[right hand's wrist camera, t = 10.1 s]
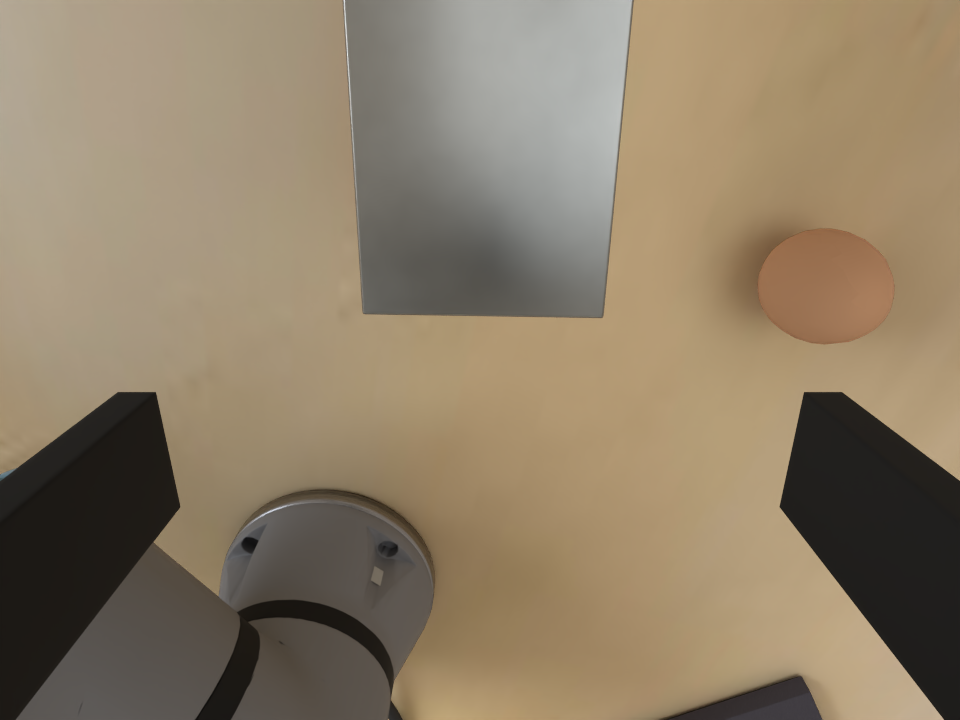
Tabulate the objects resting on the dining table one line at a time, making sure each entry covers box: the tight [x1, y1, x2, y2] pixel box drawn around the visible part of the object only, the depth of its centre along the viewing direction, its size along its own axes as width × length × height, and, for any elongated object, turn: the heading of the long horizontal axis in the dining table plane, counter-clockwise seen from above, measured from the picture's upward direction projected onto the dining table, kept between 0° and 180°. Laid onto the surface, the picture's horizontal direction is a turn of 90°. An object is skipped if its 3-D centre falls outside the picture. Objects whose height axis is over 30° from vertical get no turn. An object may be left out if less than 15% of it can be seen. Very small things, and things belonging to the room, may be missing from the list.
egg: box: [758, 229, 895, 344], centre depth 33 cm, size 6×6×8 cm
